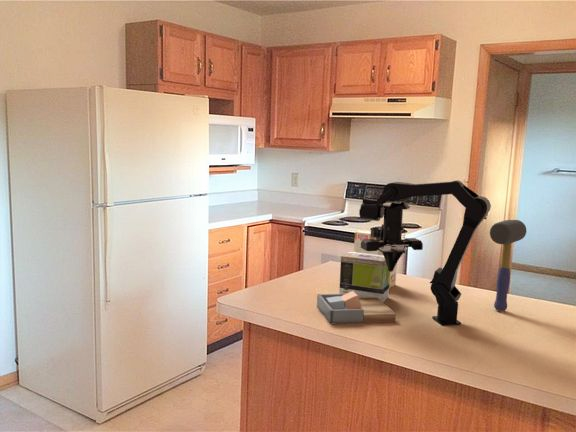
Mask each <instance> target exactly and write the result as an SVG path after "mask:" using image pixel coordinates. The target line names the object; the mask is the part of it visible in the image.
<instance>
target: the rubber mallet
mask: <svg viewBox="0 0 576 432" xmlns="http://www.w3.org/2000/svg"><path fill="white" fill-rule="evenodd" d="M526 234H527V227H526V224H525V223H524V222H523V221H521V220H520V219H506V220H501V221H498V222H496V223H494V224H493V225H492V226H491V227H490V229H489V236H490V239H491V240H492V241H493V242H494V243H496V244H498V245H502V251H501V259H500V260H501V262H500V266H499V269H498V273H497V278H496V296H495V300H494V303H493V306H494V307H493V308H494V309H495V311H497V312H501V313H502V312H505V311H506V310H507V309H508V302H507V301H508V291H509V286H510V277H511V276H510V275H511V273H510V272H511V271H510V264H511V252H512V244H513V243H516V242H519V241H521V240H523V239H524V238H525V236H526Z"/></svg>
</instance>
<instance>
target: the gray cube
mask: <svg viewBox="0 0 576 432" xmlns="http://www.w3.org/2000/svg"><path fill="white" fill-rule="evenodd" d="M326 302H327V303H328V305H329V306H330V307H331V308H332V309H333V310H341V309H345V308H344V300H343V299H342V298H341V297H340V296H336V297H329V298H326Z"/></svg>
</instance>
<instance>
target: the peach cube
mask: <svg viewBox="0 0 576 432" xmlns="http://www.w3.org/2000/svg"><path fill="white" fill-rule="evenodd" d="M340 297H341V298H342V299H343V300H344V308H345V309H358V308H360V307H362V306H361V303H360V301H359V298H358V295H357V294H356V293H355V292H354V291H351V292H349V293H347V294H345V295H343V296H340Z"/></svg>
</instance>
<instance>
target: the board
mask: <svg viewBox="0 0 576 432" xmlns="http://www.w3.org/2000/svg"><path fill="white" fill-rule="evenodd" d="M359 301H360V303H361V306H362V307H360V308H358V309H363V310H364V313H363V323H362V324H367V323H396V321H397V320H396V319H397V318H396V317H397V314H396V312H394V311H393V310H392V309H391V308H390V307H389V306H388V305H387V304H385V303H384V302H382V301H381V300H380V299H378V298H359Z"/></svg>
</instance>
